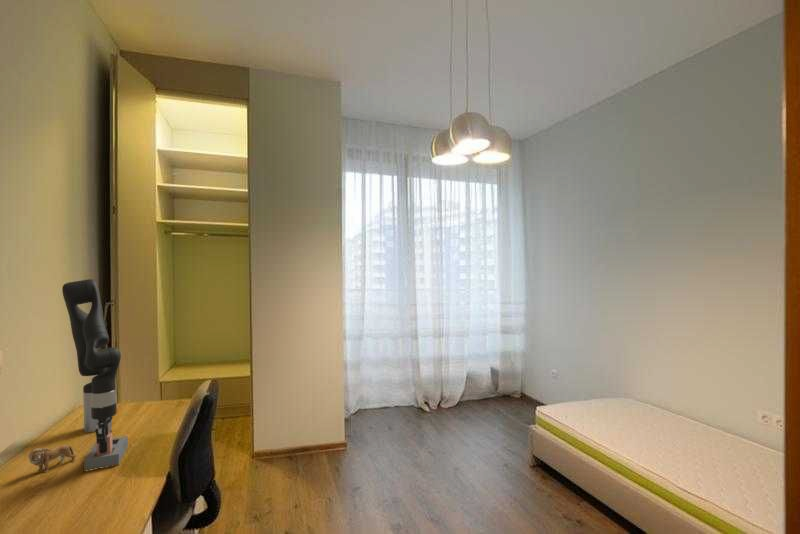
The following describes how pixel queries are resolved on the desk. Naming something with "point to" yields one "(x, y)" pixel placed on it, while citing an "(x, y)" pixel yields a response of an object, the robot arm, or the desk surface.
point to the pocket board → (106, 455)
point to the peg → (109, 445)
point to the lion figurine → (50, 456)
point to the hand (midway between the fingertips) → (104, 449)
